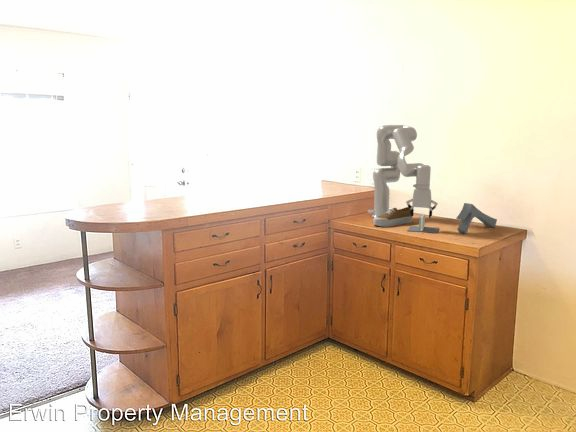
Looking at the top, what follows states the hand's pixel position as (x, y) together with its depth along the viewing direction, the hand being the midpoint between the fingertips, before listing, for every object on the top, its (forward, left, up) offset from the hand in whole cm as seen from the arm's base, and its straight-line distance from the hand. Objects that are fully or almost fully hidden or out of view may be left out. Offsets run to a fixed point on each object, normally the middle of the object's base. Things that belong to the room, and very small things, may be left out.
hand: (421, 216), depth 280 cm
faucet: (+30, +6, -8) cm, 31 cm away
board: (+1, -1, -7) cm, 7 cm away
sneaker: (-18, +12, -8) cm, 23 cm away
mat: (+2, -1, -7) cm, 8 cm away
